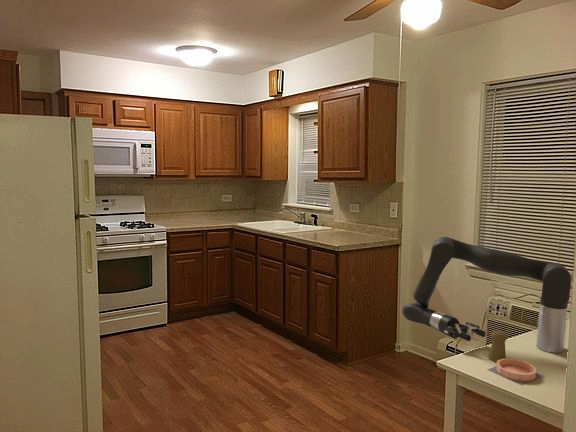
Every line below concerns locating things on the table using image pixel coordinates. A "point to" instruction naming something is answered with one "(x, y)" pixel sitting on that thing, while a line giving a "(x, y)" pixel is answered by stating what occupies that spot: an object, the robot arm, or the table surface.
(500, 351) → the pepper mill
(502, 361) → the bowl
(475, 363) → the table surface
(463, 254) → the robot arm
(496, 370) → the mat
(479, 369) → the table surface
